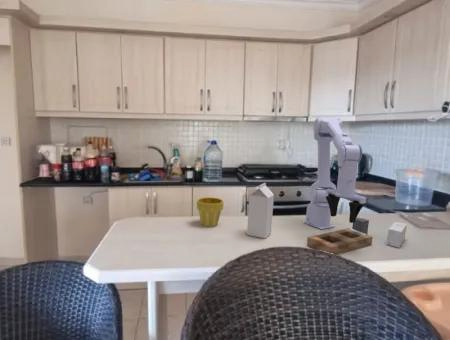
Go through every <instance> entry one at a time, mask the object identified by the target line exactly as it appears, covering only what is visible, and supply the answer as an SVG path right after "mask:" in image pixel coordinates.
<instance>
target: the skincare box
mask: <svg viewBox="0 0 450 340" xmlns="http://www.w3.org/2000/svg"><path fill="white" fill-rule="evenodd" d="M406 231H407V223H402V222H398V221H394V222H393V223H392V224H391V225H390V227H389V228H388V231H387V238H386V245H387V246H390V247H395V248H400V247H401V246H402V244H403V242H404V240H405V239H406V238H405V237H406Z"/></svg>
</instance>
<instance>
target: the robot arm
mask: <svg viewBox="0 0 450 340" xmlns="http://www.w3.org/2000/svg"><path fill="white" fill-rule="evenodd" d="M313 139H314V140H316V141H317V181H315V182H314V183H312V184H311V186H310V191H309V201H310V203H308V205H307V207H306V212H305V214H306V216H305V221H304V224H306V225H309V226H312V227H315V228H317V229H319V230H325V229H330V228H335V225H334V224H331V217H337V215H338V206H339V203H340V199H345V200H349V201H350V202H348V205H349V217H348V218H349V220H348V221H349V223H350V224H353V223H354V222H355V220H356V218H358V215H359V214H360V211H361V210H362V209H363V207H364V206H365V205H366V204H367V203H366V202H367V197H366V196H362V195H360V194H356V181H357V174H358V164H359V163H360V162H361V160H362V157H363V149H362V146H361V145H360V144H355V143H354V142H353V140H352V139H351V137H350V136H349V135H348V133H347V132H346V133H345V132H344V131H343V121H342V119H341V118H340V117H339V118H331V117H330V118H327V117H317V118H315V120H314V123H313ZM331 142H332V143H333V145H334V147H335V149H336V150H337V152H336V153H337V166H338V174H337V175H338V176H337V183H336V184H335V183H333V182H332V181H331Z"/></svg>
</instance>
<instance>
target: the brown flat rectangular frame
mask: <svg viewBox="0 0 450 340" xmlns="http://www.w3.org/2000/svg"><path fill="white" fill-rule="evenodd" d="M373 238H374V237H373V236H371V235H369V234H368V233H367V234H365V233H362V232H359V231H356V230H354V229H352V228H350V227H347V228H342V229H339V230H333V231H329V232H324V233H320V234H315V235H311V236H308V237H307V238H306V239H307V240H306V241H307V242H306V246H307V247H309V248H311V249H314V250H315V249H317V250H316V251H318V250H322V251H326V252H329V253H333V254H337V255H340V254H344V253H347V252H350V251H351V252H352V251H355V250H358V249H362V248H366V247H368V246H371V245H373ZM337 255H336V256H337Z"/></svg>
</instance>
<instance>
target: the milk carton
mask: <svg viewBox="0 0 450 340" xmlns="http://www.w3.org/2000/svg"><path fill="white" fill-rule="evenodd" d="M248 197H249V199H248V216H247V227H246V228H247V230H246V231H247V233H246V235H247V236H252V237H254V238H255V237H256V238H261V239H267V238H268V236H270V235H271V233H272V227H273V212H274V202H275V198H274V197H275V194H274V192H272V191H271V190H270V189H269V187H268V186H267V182H264V183H261V184H260V185H258V186H255V187H254V188H253V192H252V193H251V194H249V196H248Z"/></svg>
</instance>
